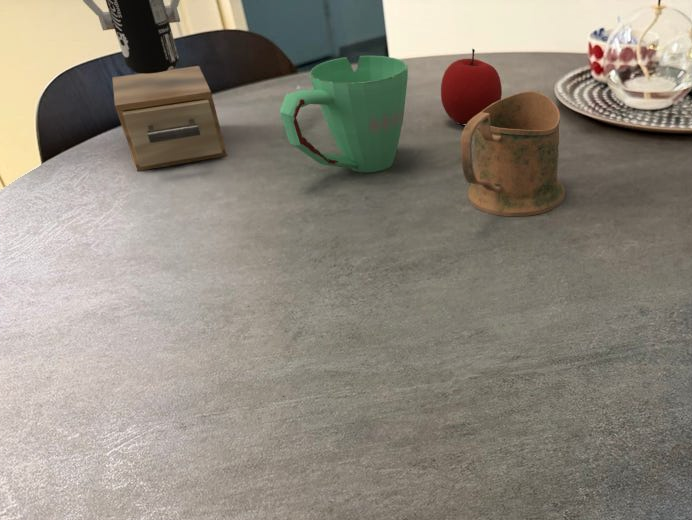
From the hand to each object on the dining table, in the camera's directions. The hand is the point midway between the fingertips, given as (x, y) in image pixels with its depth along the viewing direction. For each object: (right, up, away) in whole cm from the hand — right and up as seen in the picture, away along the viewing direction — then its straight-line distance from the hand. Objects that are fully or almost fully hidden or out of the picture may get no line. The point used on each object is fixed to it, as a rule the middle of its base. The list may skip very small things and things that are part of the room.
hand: (141, 25), depth 89 cm
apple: (+42, -7, +15) cm, 45 cm away
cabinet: (0, -12, +10) cm, 16 cm away
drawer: (+2, -14, +6) cm, 15 cm away
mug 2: (+46, -25, -8) cm, 53 cm away
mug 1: (+27, -18, +1) cm, 33 cm away
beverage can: (0, -4, +3) cm, 5 cm away
